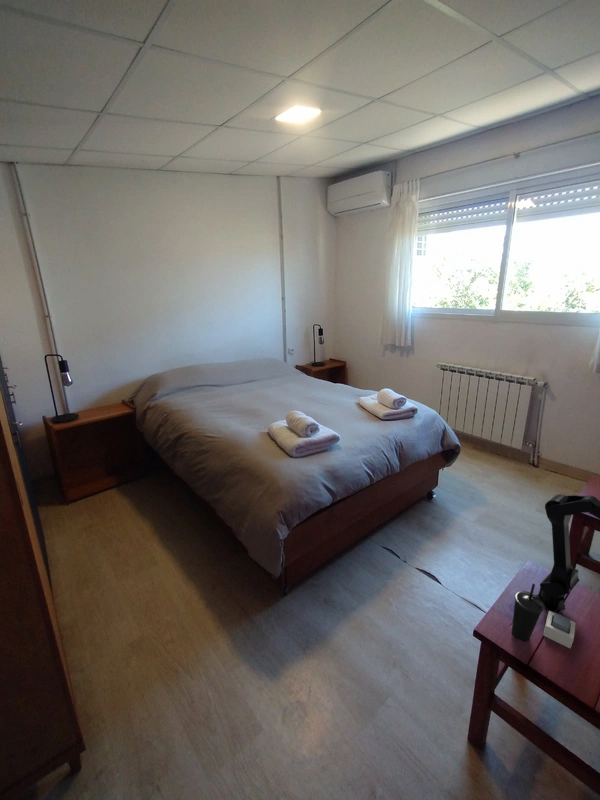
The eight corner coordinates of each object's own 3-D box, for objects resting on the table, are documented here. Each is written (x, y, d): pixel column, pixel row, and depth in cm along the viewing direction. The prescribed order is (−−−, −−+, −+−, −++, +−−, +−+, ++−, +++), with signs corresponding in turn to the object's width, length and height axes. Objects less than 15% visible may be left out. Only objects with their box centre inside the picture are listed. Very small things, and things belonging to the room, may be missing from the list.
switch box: (543, 635, 116) (546, 625, 115) (546, 619, 121) (548, 610, 120) (570, 648, 112) (573, 639, 110) (572, 632, 117) (575, 622, 116)
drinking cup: (531, 651, 111) (545, 599, 104) (503, 635, 116) (515, 584, 109) (537, 634, 116) (551, 584, 110) (510, 619, 121) (523, 570, 115)
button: (551, 628, 115) (553, 621, 114) (552, 619, 118) (555, 612, 117) (566, 636, 113) (569, 628, 112) (568, 626, 116) (570, 619, 115)
